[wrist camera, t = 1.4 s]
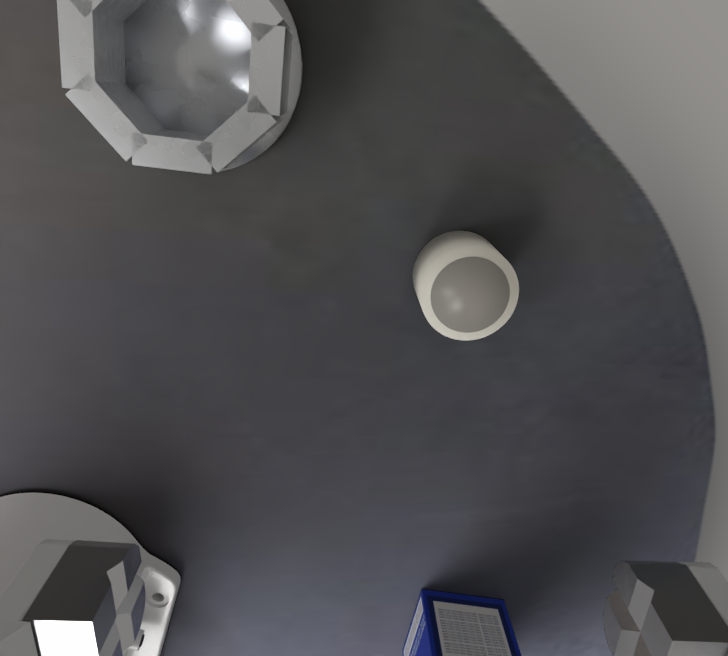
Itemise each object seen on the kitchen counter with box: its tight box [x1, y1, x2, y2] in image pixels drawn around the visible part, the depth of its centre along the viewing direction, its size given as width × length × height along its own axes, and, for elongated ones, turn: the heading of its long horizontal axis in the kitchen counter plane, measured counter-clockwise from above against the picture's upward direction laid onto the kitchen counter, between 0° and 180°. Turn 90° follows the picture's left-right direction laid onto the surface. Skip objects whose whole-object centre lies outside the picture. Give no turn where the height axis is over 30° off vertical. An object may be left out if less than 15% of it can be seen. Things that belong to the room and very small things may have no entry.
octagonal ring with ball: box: [57, 0, 303, 174], centre depth 29 cm, size 11×11×5 cm
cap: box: [412, 231, 519, 341], centre depth 34 cm, size 6×6×4 cm
